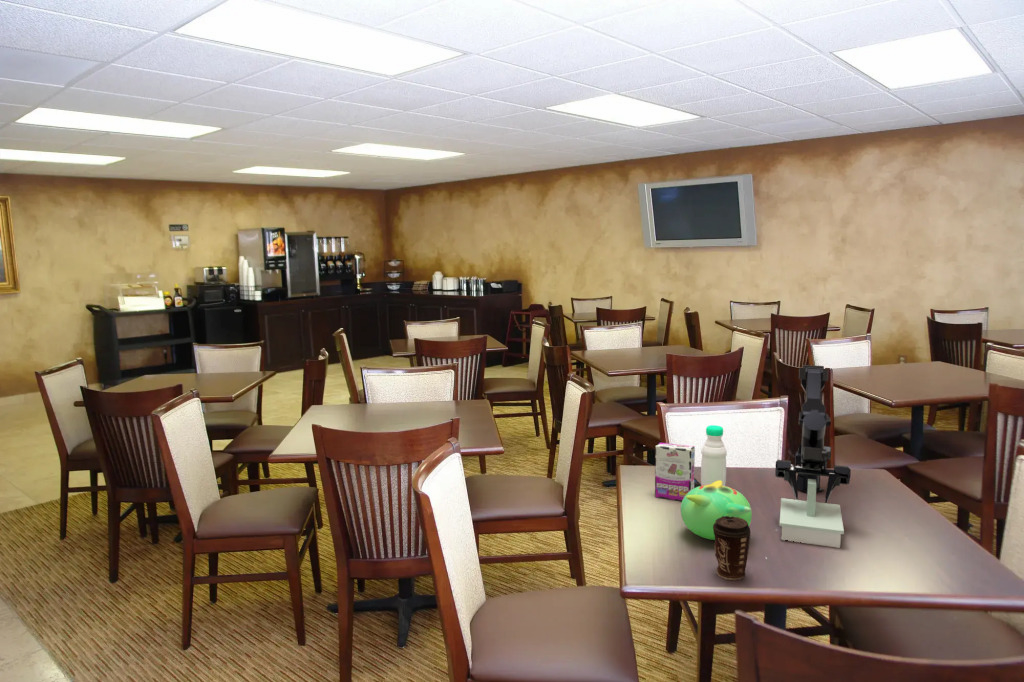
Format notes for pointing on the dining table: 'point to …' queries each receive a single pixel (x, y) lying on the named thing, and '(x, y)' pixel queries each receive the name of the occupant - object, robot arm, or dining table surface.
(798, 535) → the tub
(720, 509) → the toy bird
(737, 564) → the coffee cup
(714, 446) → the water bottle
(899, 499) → the dining table surface
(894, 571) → the dining table surface
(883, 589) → the dining table surface
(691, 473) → the candy bar box
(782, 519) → the lid
